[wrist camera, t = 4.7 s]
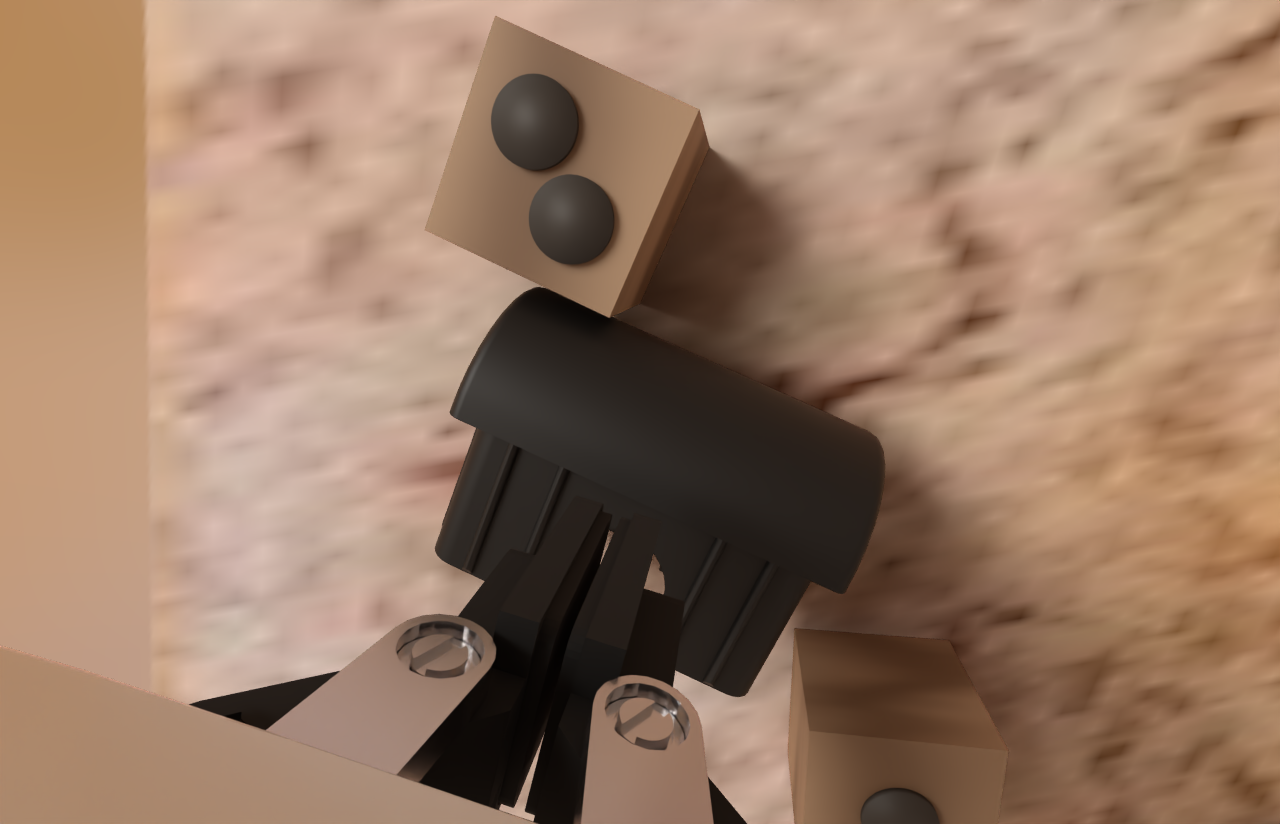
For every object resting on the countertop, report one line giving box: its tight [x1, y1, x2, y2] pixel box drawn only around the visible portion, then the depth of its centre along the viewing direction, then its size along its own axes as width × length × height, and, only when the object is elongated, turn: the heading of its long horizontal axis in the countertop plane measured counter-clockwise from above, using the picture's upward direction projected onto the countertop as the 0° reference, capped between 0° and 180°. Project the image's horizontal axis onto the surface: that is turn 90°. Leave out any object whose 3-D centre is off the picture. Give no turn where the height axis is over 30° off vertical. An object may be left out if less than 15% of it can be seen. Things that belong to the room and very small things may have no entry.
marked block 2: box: [788, 628, 1009, 824], centre depth 20 cm, size 5×5×5 cm
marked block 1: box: [425, 16, 709, 318], centre depth 17 cm, size 5×5×5 cm
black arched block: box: [435, 287, 885, 697], centre depth 18 cm, size 10×7×7 cm
